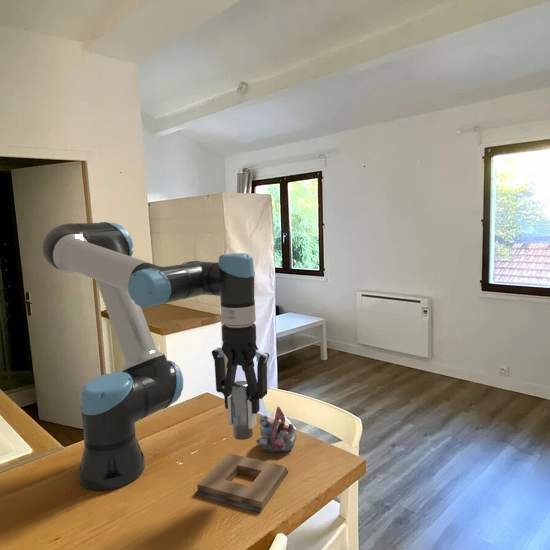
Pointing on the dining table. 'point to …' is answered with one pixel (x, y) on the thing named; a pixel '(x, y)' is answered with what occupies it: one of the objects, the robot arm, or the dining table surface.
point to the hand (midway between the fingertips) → (242, 423)
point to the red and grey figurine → (276, 433)
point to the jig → (241, 495)
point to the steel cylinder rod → (240, 410)
